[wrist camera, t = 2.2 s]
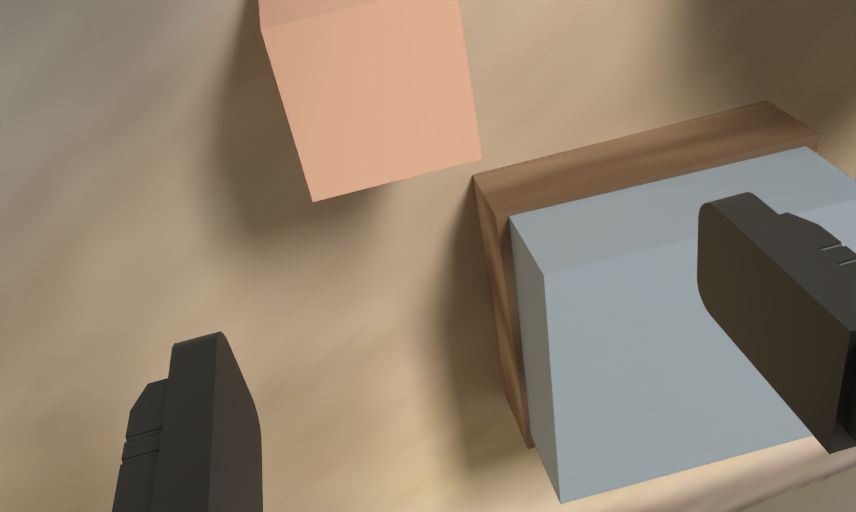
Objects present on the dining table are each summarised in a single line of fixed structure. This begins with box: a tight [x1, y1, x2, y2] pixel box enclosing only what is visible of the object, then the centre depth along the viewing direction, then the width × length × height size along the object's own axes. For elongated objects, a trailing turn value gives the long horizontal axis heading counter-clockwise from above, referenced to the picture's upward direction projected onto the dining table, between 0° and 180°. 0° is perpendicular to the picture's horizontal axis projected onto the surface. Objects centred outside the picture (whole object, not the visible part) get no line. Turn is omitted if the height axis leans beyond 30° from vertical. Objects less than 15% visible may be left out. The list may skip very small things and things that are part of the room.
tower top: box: [509, 146, 856, 504], centre depth 31 cm, size 12×12×4 cm
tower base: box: [473, 101, 819, 449], centre depth 34 cm, size 13×13×4 cm
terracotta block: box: [258, 0, 482, 202], centre depth 24 cm, size 5×5×8 cm
